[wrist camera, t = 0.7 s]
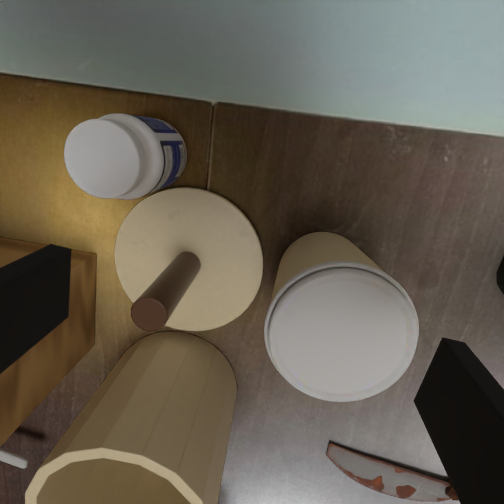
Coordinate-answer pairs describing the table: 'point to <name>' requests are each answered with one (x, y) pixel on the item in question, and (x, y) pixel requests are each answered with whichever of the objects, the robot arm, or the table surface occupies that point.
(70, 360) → the stand
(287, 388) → the table surface
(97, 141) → the pill bottle
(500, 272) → the sushi
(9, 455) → the small pan
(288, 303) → the coffee cup
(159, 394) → the pot
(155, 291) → the lid
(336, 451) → the kitchen knife
